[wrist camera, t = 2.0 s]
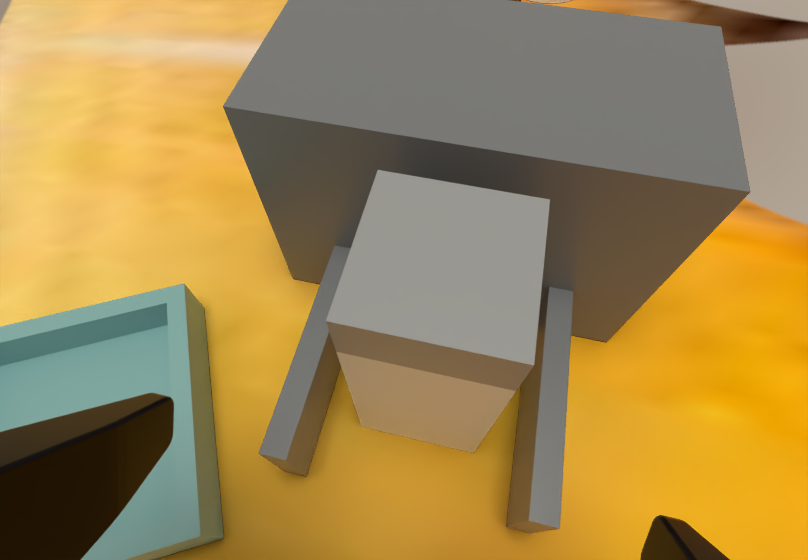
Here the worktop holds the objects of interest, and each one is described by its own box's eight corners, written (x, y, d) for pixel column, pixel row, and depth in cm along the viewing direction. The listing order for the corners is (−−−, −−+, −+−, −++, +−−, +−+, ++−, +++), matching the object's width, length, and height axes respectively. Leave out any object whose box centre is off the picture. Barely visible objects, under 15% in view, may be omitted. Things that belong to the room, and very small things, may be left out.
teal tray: (223, 538, 19) (200, 536, 17) (-70, 629, 17) (-138, 640, 15) (204, 308, 24) (184, 283, 22) (-25, 363, 22) (-70, 343, 20)
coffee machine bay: (603, 551, 18) (813, 548, 9) (222, 455, 20) (61, 368, 11) (608, 214, 27) (720, 26, 17) (337, 167, 29) (304, -26, 19)
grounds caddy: (473, 453, 20) (533, 365, 11) (361, 426, 21) (326, 321, 11) (489, 347, 23) (550, 199, 13) (388, 326, 23) (377, 169, 14)
